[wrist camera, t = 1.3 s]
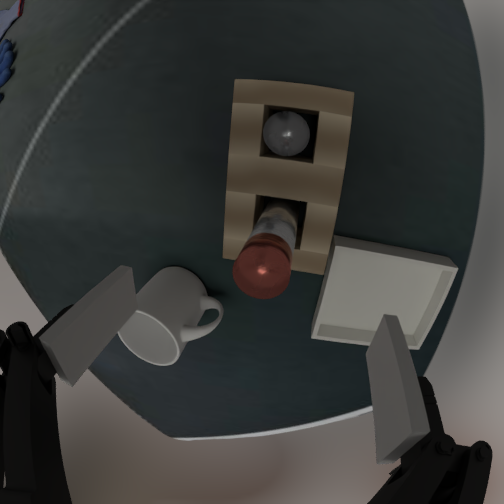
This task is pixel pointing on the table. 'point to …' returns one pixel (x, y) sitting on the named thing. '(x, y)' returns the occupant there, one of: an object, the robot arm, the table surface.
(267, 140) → the short pin
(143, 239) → the table surface
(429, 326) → the tray
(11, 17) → the pair of gloves
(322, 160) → the block
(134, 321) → the mug
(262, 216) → the glass vial with cap
